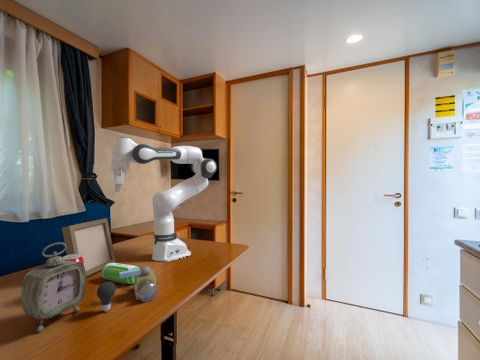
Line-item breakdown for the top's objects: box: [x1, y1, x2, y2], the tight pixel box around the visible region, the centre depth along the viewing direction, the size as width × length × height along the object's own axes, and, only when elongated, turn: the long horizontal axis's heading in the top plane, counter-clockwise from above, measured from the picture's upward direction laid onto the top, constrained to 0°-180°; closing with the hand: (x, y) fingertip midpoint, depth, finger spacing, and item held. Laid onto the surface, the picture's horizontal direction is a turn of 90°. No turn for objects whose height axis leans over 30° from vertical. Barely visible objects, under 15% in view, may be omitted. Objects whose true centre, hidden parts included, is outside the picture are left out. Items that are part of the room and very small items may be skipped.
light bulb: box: [96, 281, 117, 312], centre depth 77 cm, size 6×6×10 cm
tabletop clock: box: [20, 241, 87, 333], centre depth 73 cm, size 14×9×25 cm, turn 160°
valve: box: [133, 268, 158, 303], centre depth 89 cm, size 7×14×8 cm, turn 32°
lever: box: [119, 265, 151, 278], centre depth 87 cm, size 11×4×2 cm, turn 122°
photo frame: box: [61, 217, 117, 278], centre depth 112 cm, size 15×22×25 cm
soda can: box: [61, 254, 84, 265], centre depth 90 cm, size 8×8×15 cm
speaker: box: [100, 262, 140, 285], centre depth 101 cm, size 18×7×8 cm, turn 71°
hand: (116, 193), depth 117 cm, fingers open, 8 cm apart
